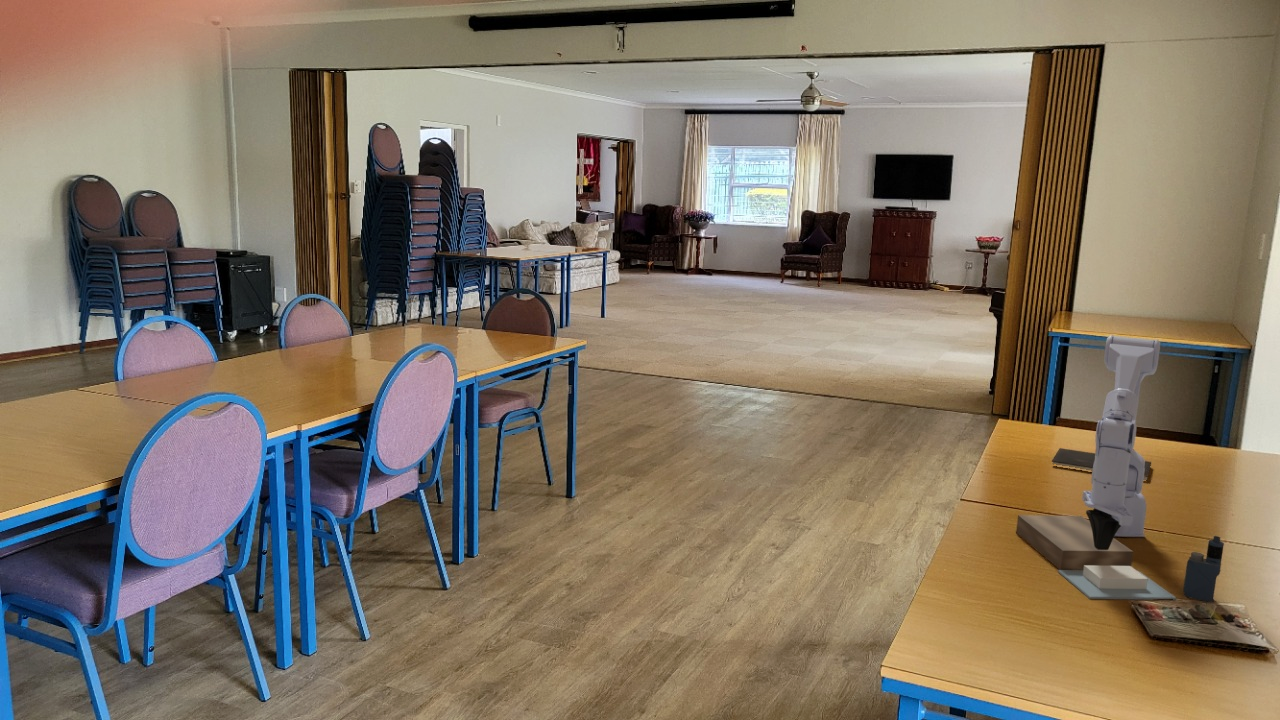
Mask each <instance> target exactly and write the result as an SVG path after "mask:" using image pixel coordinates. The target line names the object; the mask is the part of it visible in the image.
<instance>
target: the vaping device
mask: <svg viewBox="0 0 1280 720" xmlns="http://www.w3.org/2000/svg"><path fill="white" fill-rule="evenodd" d="M1207 544H1208V545H1207V549H1206V555H1204V554H1203V553H1202V552H1201V553H1200V552H1197V551H1192V552H1190V556H1189V557H1188V559H1187V563H1186V568H1185V576H1184V580H1183V589H1182V591H1183V593H1184V596H1185V597H1187V598H1190V599H1194V600H1198V601H1203V602H1209V603H1213V602H1215V600H1214V595H1215V589H1216V583H1217V578H1218V576H1219V575H1220V574H1221V568H1222V559H1223V558H1222V557H1223V552H1224V545H1225V543H1224V541H1221V537H1220V536H1218V535H1214V536H1213V538H1212V539H1209V540H1208V543H1207ZM1205 556H1206V558H1204V557H1205Z"/></svg>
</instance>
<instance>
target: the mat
mask: <svg viewBox="0 0 1280 720" xmlns="http://www.w3.org/2000/svg"><path fill="white" fill-rule="evenodd" d="M1137 571H1138V572H1139V573H1141V574H1142V575H1143V576H1145V577H1146V578H1148V582H1147V589H1104V588H1098V587H1097V586H1095V585H1094V584H1093V583H1092V582H1091V581H1089V580H1088V579H1087V578H1086V577H1084V576H1083V570H1060V569H1057V572H1058V574H1060V575H1061V576H1062V577H1063V578H1065V579H1066V580H1067V581H1068V582H1069V583H1070V584H1071V585H1073V586H1074V587H1075V588H1076V589H1077V590H1079V591H1080V592H1081V594H1083V595H1084V596H1086V598H1088V599H1090V600H1153V599H1173V600H1174V601H1175V600H1177V597H1176V596H1175V595H1173V594H1172V593H1170V592H1169V591H1167V590H1166V589H1164V588H1163V587H1162V586H1160V585H1159V584H1158V583H1156V582H1155V581H1154V580H1152V579H1151V578H1149V577H1148V576H1146V575H1145V574H1143V573H1142V572H1141V571H1139V570H1137Z"/></svg>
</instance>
